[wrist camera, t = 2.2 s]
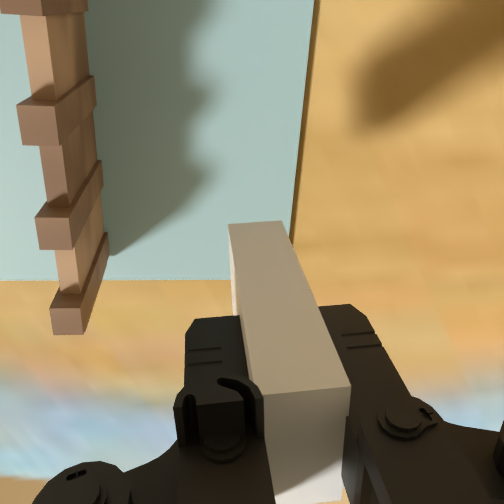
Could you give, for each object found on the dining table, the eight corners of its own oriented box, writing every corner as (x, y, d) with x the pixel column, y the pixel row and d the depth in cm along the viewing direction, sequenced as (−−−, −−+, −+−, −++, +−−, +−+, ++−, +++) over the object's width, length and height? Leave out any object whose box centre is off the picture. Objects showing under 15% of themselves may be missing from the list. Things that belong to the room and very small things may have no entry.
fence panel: (53, -45, 15) (-13, -66, 10) (84, -43, 15) (32, -62, 10) (88, 264, 20) (55, 347, 15) (110, 264, 20) (84, 347, 15)
